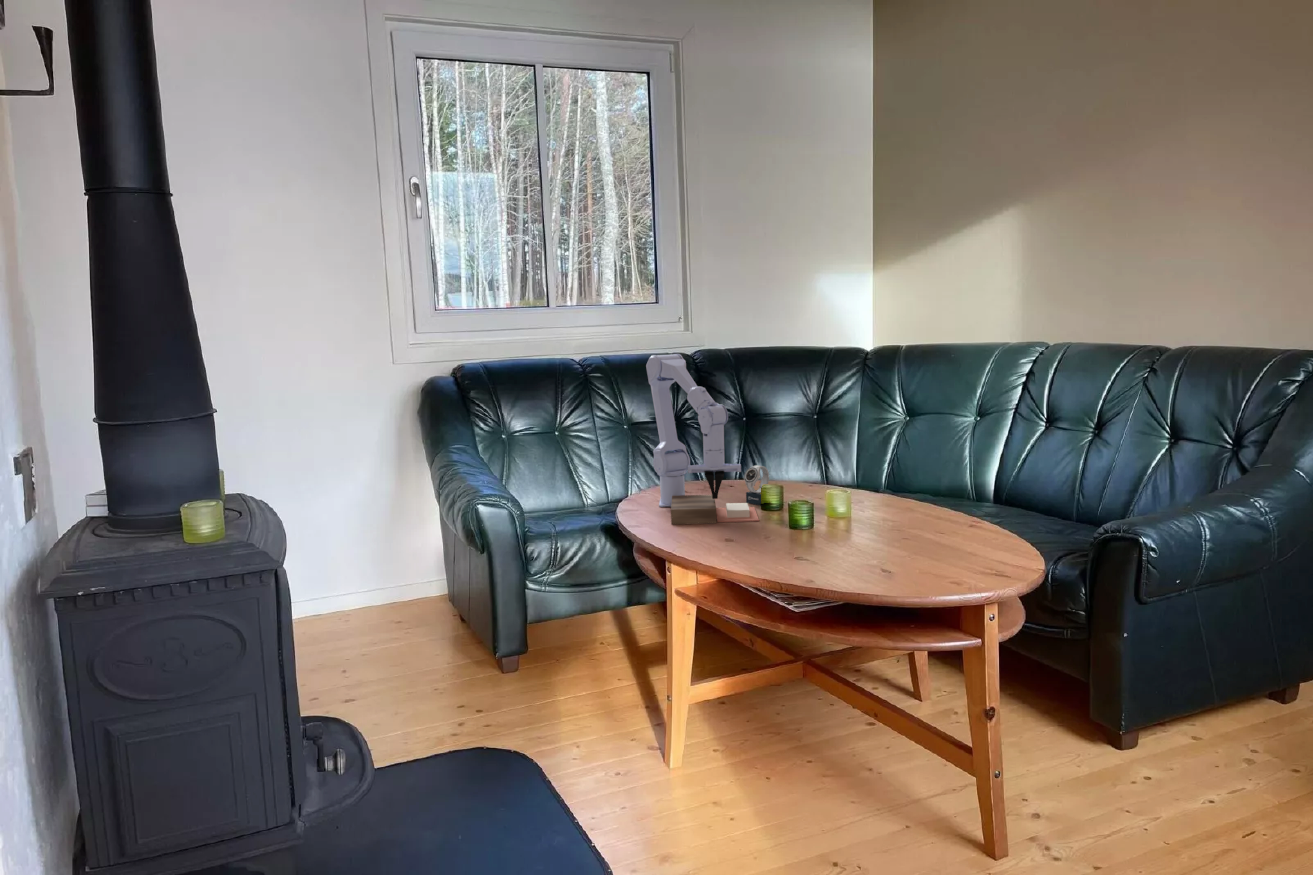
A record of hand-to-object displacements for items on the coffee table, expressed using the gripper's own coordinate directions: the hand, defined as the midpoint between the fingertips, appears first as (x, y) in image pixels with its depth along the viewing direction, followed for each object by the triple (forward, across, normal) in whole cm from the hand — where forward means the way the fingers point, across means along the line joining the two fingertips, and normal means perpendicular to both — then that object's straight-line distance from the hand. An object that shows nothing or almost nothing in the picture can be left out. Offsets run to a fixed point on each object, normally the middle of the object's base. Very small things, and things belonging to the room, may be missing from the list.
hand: (714, 498), depth 232 cm
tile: (+2, +6, 0) cm, 7 cm away
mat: (+5, +6, 0) cm, 8 cm away
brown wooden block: (+5, -6, 0) cm, 8 cm away
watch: (+5, +13, +15) cm, 20 cm away
